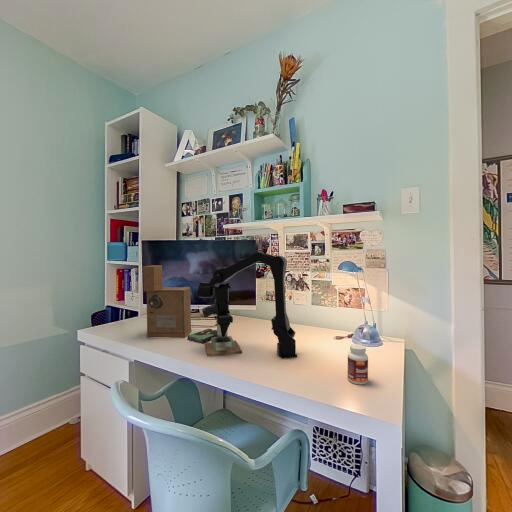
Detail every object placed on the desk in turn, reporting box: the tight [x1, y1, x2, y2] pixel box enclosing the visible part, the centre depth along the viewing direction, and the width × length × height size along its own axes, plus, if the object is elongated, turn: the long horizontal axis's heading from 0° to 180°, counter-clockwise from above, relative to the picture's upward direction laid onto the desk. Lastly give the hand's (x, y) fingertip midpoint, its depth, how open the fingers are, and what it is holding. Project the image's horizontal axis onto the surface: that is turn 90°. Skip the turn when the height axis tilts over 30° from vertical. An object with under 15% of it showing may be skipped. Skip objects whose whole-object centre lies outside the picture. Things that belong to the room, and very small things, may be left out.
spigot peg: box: [216, 322, 229, 343], centre depth 121 cm, size 4×4×10 cm
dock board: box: [204, 335, 243, 358], centre depth 121 cm, size 14×14×4 cm
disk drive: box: [186, 328, 217, 345], centre depth 137 cm, size 10×3×15 cm
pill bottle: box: [347, 343, 369, 386], centre depth 91 cm, size 6×6×11 cm
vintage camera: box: [142, 264, 192, 339], centre depth 141 cm, size 19×14×35 cm
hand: (222, 334), depth 121 cm, fingers closed on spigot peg, 4 cm apart
